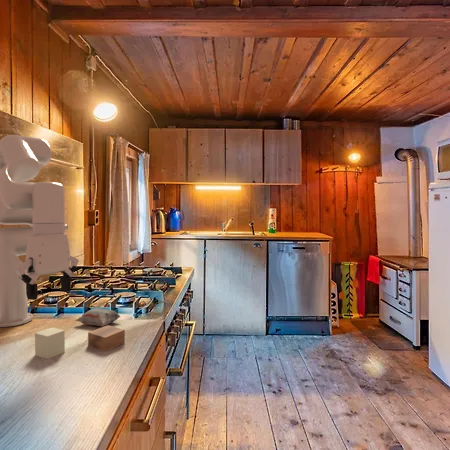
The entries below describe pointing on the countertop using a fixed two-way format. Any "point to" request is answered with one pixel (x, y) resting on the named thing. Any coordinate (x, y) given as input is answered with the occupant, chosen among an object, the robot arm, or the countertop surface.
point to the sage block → (49, 342)
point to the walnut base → (106, 337)
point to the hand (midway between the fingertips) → (49, 294)
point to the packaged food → (98, 317)
